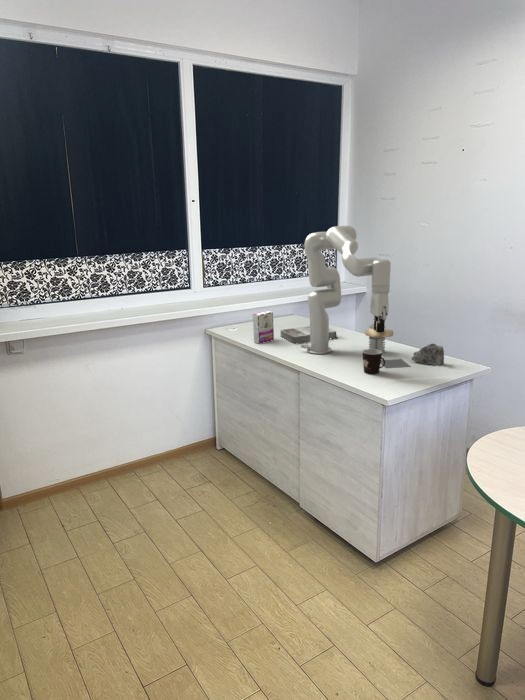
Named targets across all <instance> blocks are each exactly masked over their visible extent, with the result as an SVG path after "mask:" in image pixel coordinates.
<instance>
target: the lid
mask: <svg viewBox="0 0 525 700" xmlns="http://www.w3.org/2000/svg"><path fill="white" fill-rule="evenodd" d="M377 323H378V321H376V330H374V329H371V328H369V329H366V330H364V335H365V336H367V337H368V338H369V337H376V338H385V339H386V338H391V337H393V336H394V330H391V329H388V328H384V332H377Z"/></svg>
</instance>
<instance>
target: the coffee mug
mask: <svg viewBox="0 0 525 700" xmlns="http://www.w3.org/2000/svg"><path fill="white" fill-rule="evenodd" d="M361 353H362V363H363V373H364V374H366V375H377V374H379V373H380V369H383V368H384V365H385V360H386V359H385V358H383V354H382V351H381V350H377V349H370V348H366V349H363V350H362V351H361ZM381 360H383V361H384V364H383V365H382V364H380V363H381Z"/></svg>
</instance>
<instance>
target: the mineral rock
mask: <svg viewBox="0 0 525 700" xmlns="http://www.w3.org/2000/svg"><path fill="white" fill-rule="evenodd" d="M411 361H413V362H416V363H418V364H421V365H422V364H423V365H432V366H433V365H434V366H443V365H444V364H445V350H444V347H443V346H442V345H437V344H435V343H430V344H427V345H426V346H424V347H421V348H420V349H419V350H418V351H414V352H413V356H412V357H411Z"/></svg>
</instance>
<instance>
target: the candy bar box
mask: <svg viewBox="0 0 525 700" xmlns="http://www.w3.org/2000/svg"><path fill="white" fill-rule="evenodd" d="M252 326H253V343H254V342H256V343H255V344H257V343H262V344H264V343H263V342H265V343H268V342H267V341H269V342H272V341H271V340H273V341H274V340H275V335H274V334H275V333H274V331H275V330H274V312H273V311H270V310H267V311H262V312H257V313H256V312H255V313H253V314H252Z"/></svg>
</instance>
